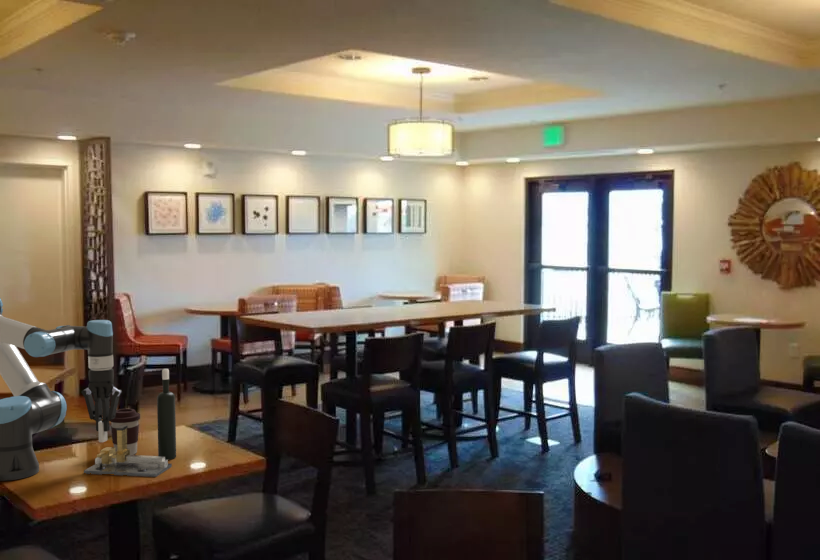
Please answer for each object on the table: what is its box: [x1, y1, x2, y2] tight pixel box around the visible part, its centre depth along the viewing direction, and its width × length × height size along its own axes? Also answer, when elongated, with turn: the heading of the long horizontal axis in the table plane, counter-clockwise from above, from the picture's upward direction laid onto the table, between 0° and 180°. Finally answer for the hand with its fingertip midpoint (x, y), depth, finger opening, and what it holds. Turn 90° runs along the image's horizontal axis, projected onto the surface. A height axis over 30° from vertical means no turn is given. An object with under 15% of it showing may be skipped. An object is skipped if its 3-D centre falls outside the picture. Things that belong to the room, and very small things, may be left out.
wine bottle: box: [156, 368, 177, 461], centre depth 268 cm, size 6×6×30 cm
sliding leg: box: [112, 425, 130, 468], centre depth 255 cm, size 3×8×12 cm, turn 172°
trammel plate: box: [83, 446, 173, 478], centre depth 255 cm, size 24×11×6 cm, turn 82°
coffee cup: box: [109, 408, 141, 455], centre depth 273 cm, size 10×10×15 cm
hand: (103, 441), depth 258 cm, fingers closed
